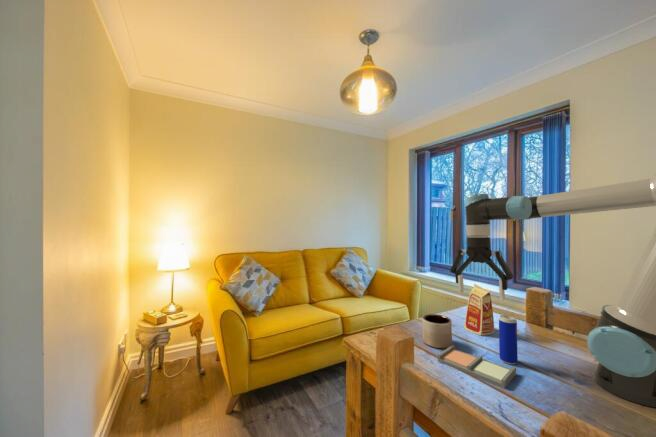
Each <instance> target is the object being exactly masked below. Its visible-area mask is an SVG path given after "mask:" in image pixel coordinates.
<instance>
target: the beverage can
mask: <svg viewBox="0 0 656 437" xmlns="http://www.w3.org/2000/svg"><path fill="white" fill-rule="evenodd" d="M498 339H499V340H498V346H499V347H498V350H499V353H498V354H499V359H500V361H501V362H503V363H504V364H507V365H512V366H514V365H516V364H517V363H518V321H517V319H516V317H514V316H512V315H505V314H502V315H499V317H498Z"/></svg>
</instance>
